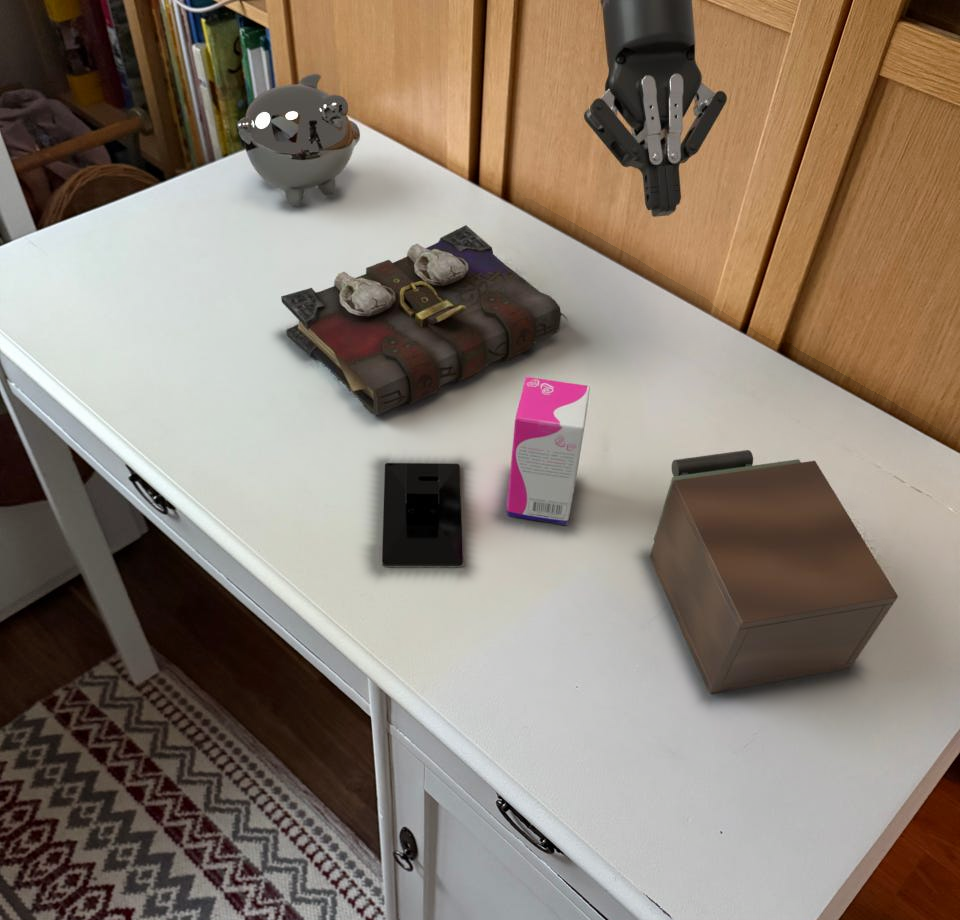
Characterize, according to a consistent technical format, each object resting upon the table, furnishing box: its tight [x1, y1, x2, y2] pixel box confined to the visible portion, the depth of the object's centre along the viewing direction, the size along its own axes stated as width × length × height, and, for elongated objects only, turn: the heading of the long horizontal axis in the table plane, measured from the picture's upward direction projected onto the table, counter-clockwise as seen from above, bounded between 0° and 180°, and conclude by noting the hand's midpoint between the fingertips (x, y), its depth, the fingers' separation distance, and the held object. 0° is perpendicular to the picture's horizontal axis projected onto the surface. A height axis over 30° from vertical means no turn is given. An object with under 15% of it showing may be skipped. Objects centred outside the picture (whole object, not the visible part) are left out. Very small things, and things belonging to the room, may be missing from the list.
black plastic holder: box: [378, 462, 464, 568], centre depth 83 cm, size 12×7×5 cm, turn 2°
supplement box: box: [506, 376, 591, 526], centre depth 82 cm, size 6×6×12 cm
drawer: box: [653, 449, 801, 542], centre depth 79 cm, size 18×11×8 cm, turn 13°
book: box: [280, 224, 568, 416], centre depth 97 cm, size 26×18×7 cm
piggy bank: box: [235, 73, 361, 207], centre depth 111 cm, size 11×15×12 cm
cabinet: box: [649, 460, 899, 694], centre depth 77 cm, size 15×13×10 cm
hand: (664, 213), depth 83 cm, fingers closed
